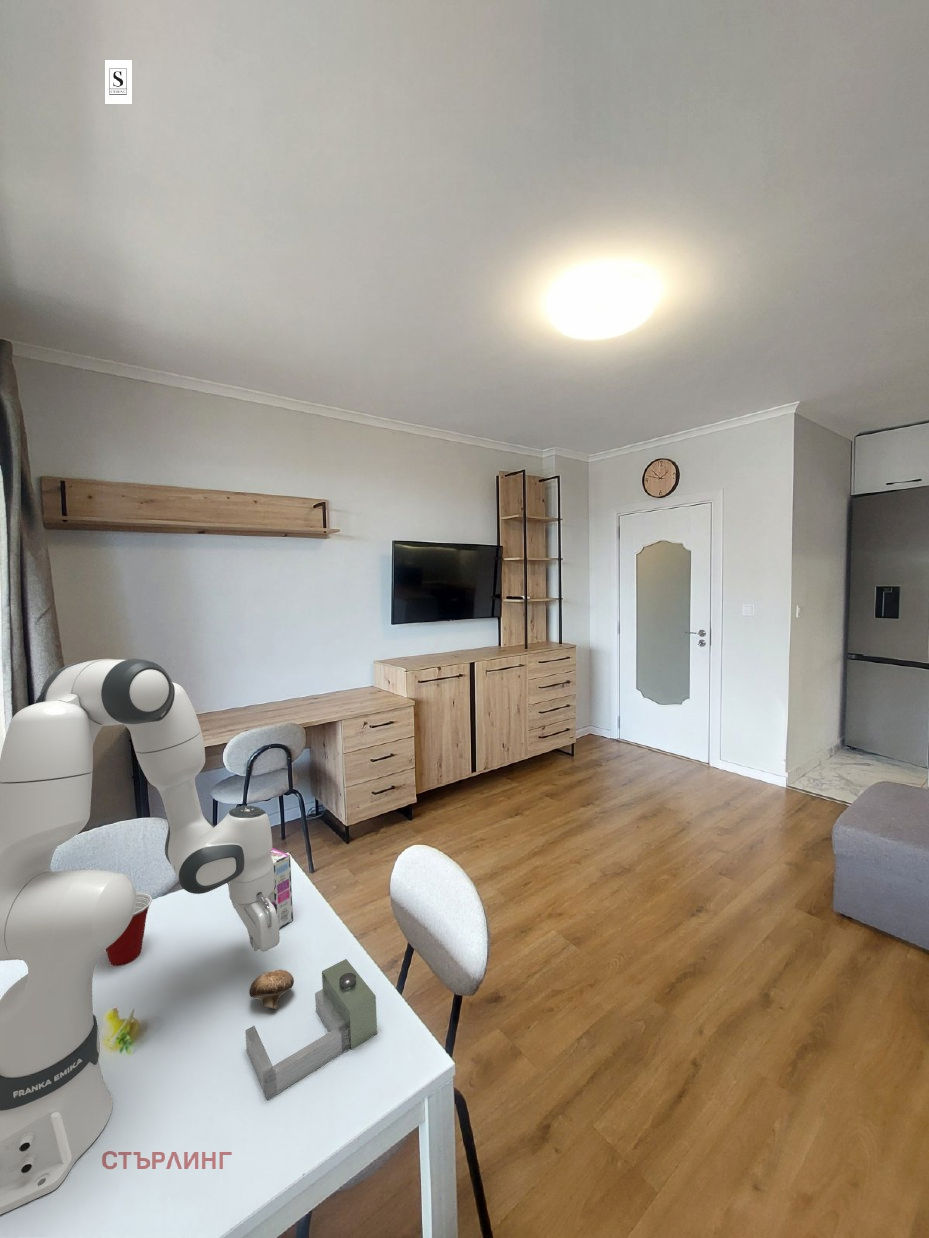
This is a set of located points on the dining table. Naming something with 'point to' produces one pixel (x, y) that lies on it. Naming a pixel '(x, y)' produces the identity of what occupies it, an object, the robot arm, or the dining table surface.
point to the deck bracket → (344, 1015)
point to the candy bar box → (282, 888)
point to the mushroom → (271, 987)
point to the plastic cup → (131, 934)
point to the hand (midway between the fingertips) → (256, 945)
